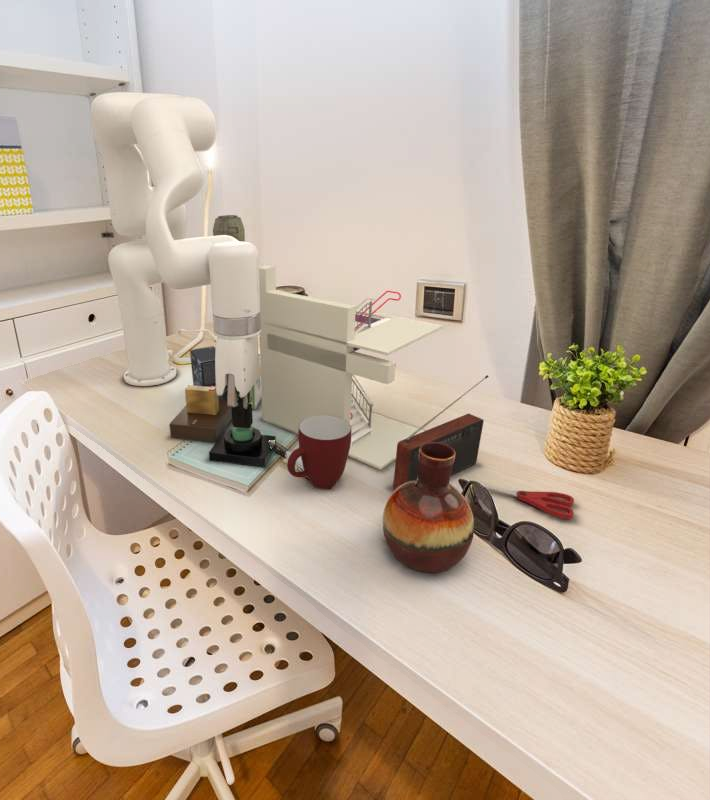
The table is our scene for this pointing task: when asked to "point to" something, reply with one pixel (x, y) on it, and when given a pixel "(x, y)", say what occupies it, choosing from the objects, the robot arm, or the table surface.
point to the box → (205, 368)
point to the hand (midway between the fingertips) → (242, 425)
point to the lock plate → (201, 424)
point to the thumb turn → (202, 400)
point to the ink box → (256, 389)
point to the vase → (429, 515)
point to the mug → (322, 450)
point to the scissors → (544, 501)
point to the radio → (454, 433)
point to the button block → (242, 449)
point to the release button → (242, 433)
